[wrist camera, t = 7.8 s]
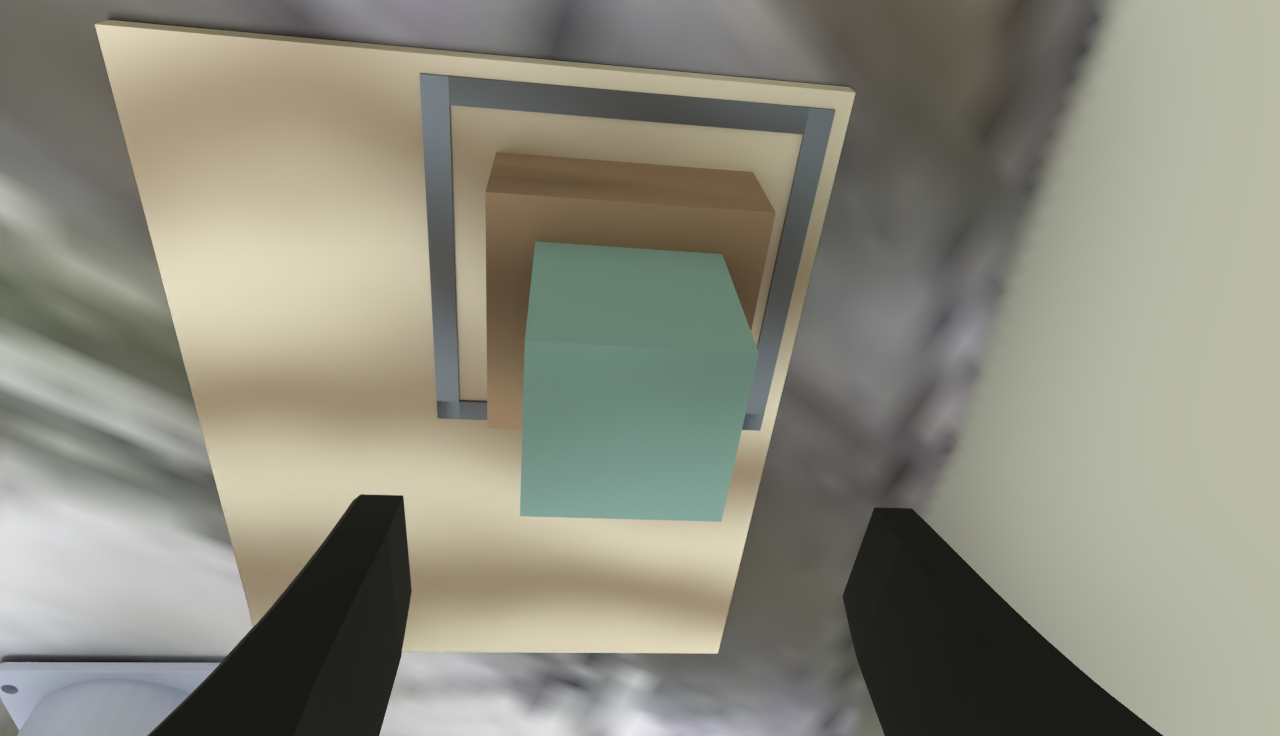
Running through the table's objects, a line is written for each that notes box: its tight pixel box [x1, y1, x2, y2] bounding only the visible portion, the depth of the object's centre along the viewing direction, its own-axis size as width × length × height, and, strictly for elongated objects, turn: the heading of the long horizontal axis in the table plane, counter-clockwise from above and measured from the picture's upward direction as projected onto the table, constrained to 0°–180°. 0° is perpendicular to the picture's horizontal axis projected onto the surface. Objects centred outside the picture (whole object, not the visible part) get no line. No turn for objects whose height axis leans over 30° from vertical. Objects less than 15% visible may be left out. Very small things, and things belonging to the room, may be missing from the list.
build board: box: [95, 20, 856, 653], centre depth 22 cm, size 20×16×1 cm
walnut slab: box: [485, 152, 776, 429], centre depth 19 cm, size 6×6×2 cm
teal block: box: [520, 241, 759, 522], centre depth 16 cm, size 4×4×4 cm
